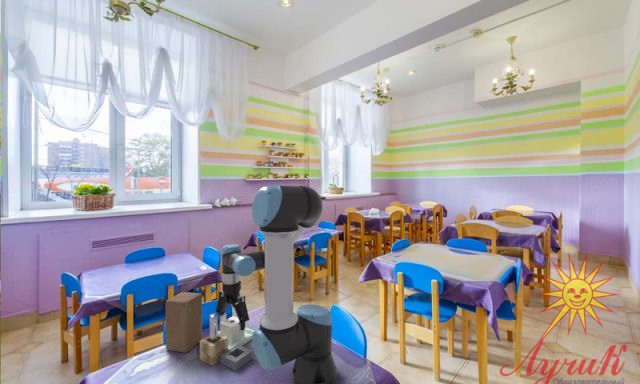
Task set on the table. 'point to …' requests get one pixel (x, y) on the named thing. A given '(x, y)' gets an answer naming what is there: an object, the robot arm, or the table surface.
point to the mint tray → (243, 340)
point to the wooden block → (183, 321)
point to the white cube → (230, 329)
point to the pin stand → (243, 357)
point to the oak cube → (213, 349)
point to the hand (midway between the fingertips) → (232, 333)
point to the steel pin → (213, 328)
